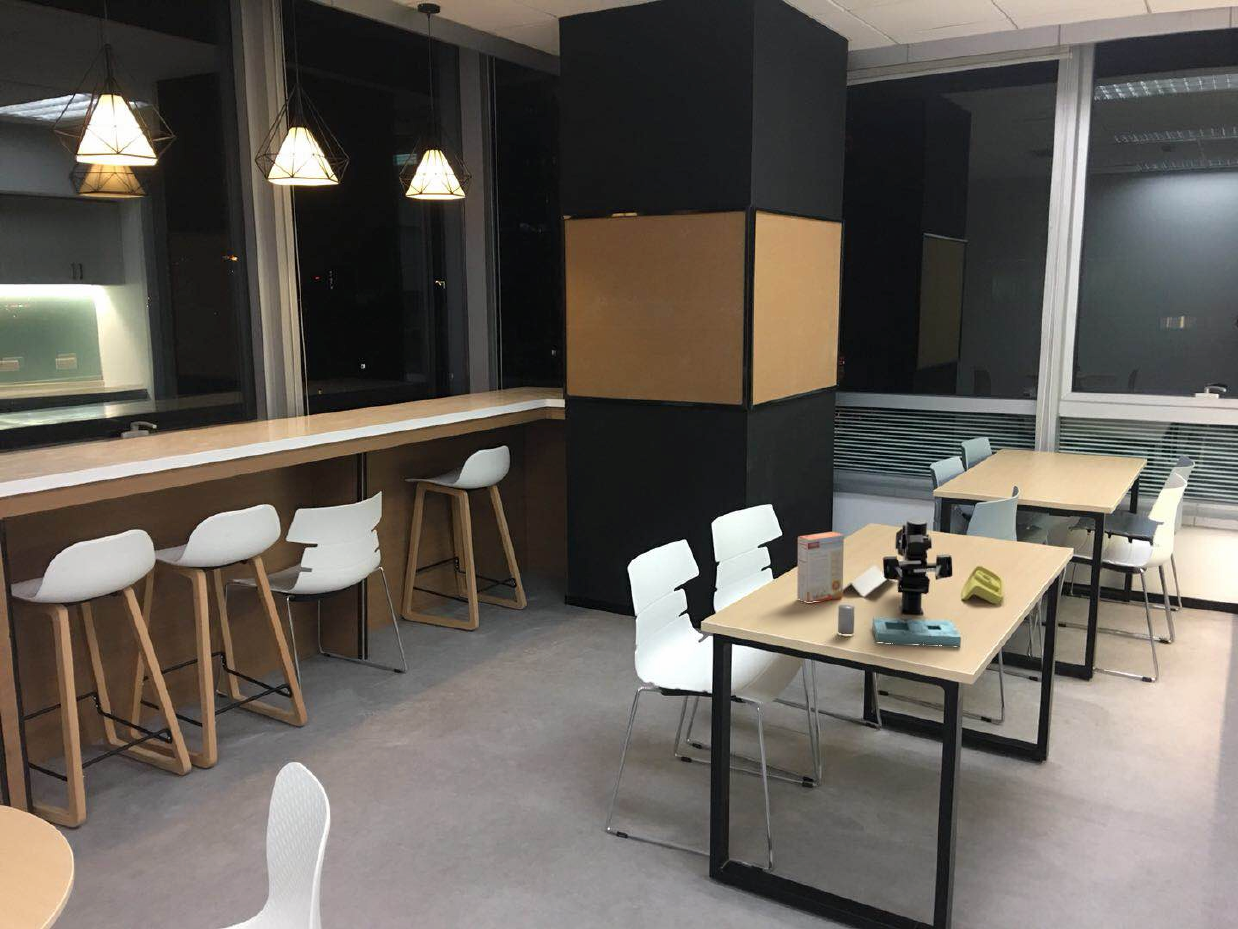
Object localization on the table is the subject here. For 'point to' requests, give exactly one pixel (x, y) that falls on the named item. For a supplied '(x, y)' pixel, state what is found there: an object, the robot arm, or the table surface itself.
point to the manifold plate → (916, 631)
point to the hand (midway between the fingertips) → (919, 578)
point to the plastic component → (983, 585)
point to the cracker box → (820, 567)
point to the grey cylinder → (846, 619)
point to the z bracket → (868, 581)
